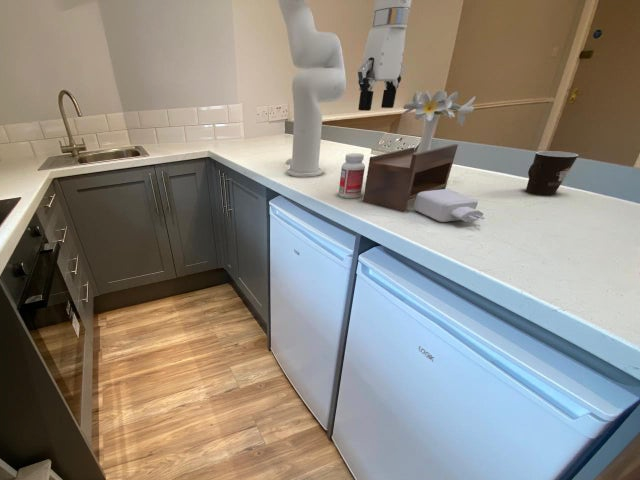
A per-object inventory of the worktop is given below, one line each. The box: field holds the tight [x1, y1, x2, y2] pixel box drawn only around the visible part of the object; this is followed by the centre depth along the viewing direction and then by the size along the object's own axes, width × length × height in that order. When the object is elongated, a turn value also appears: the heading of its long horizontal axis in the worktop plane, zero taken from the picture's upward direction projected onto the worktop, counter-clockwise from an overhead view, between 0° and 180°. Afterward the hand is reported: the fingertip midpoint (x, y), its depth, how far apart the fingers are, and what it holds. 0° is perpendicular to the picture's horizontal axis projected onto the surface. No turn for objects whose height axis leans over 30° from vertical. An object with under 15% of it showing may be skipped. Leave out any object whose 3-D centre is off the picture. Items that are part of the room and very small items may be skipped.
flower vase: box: [400, 90, 476, 153], centre depth 101 cm, size 13×18×25 cm
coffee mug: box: [525, 150, 579, 197], centre depth 91 cm, size 12×9×10 cm
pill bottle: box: [338, 152, 366, 199], centre depth 95 cm, size 6×6×11 cm
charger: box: [413, 188, 485, 223], centre depth 78 cm, size 5×9×15 cm
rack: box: [362, 143, 459, 212], centre depth 90 cm, size 12×20×13 cm, turn 127°
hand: (376, 109), depth 85 cm, fingers open, 9 cm apart
